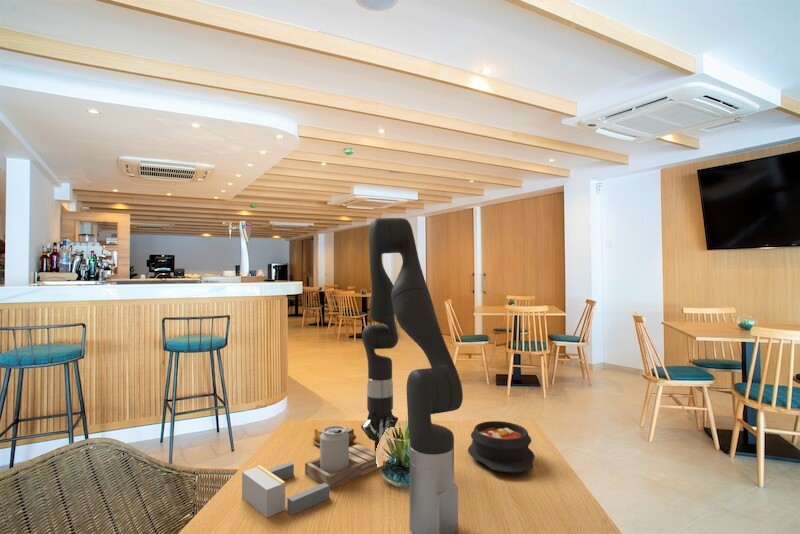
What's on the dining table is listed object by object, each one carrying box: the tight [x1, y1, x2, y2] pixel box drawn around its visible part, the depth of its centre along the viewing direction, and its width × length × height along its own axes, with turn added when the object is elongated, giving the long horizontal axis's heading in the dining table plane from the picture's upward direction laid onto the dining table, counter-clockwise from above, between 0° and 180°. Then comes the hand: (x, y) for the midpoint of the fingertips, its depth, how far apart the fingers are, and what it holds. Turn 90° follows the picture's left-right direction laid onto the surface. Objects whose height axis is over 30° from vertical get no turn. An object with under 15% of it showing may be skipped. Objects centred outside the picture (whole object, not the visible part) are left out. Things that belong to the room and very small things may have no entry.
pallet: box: [304, 443, 379, 490], centre depth 116 cm, size 11×18×3 cm, turn 135°
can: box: [319, 425, 350, 474], centre depth 114 cm, size 8×8×12 cm
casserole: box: [467, 420, 535, 473], centre depth 124 cm, size 25×19×8 cm
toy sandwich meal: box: [312, 426, 357, 448], centre depth 136 cm, size 12×14×5 cm
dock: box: [241, 461, 331, 519], centre depth 103 cm, size 18×14×6 cm
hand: (380, 453), depth 125 cm, fingers closed
